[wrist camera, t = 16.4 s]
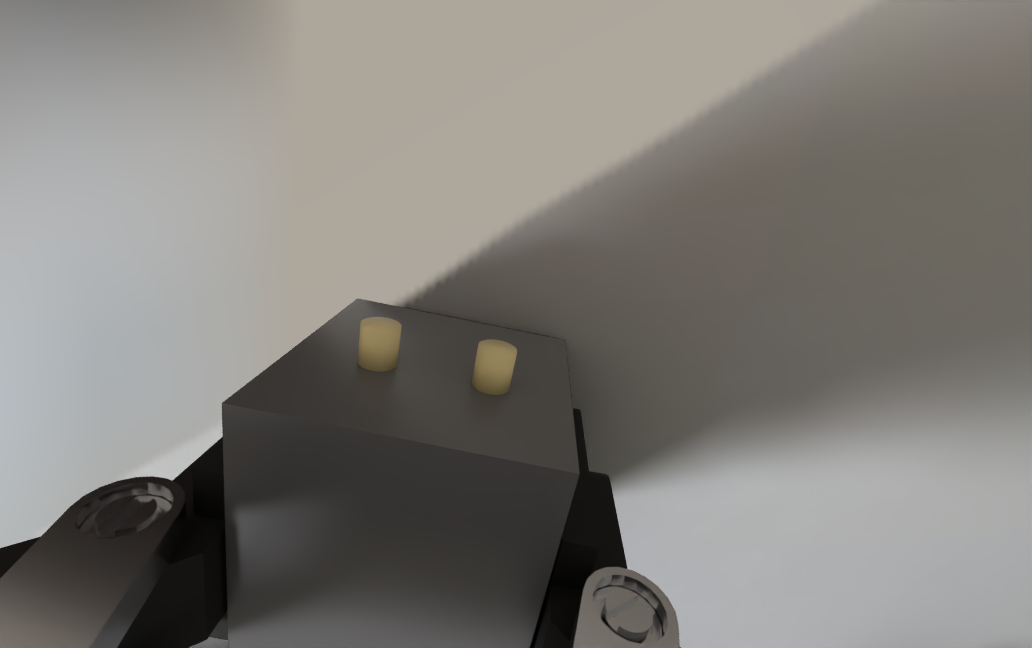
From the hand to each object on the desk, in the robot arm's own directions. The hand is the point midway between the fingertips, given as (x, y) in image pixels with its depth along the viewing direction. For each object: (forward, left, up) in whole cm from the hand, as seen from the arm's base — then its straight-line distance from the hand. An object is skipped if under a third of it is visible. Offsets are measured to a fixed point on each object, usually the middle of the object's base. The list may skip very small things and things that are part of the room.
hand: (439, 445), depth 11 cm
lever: (-1, -8, 0) cm, 8 cm away
